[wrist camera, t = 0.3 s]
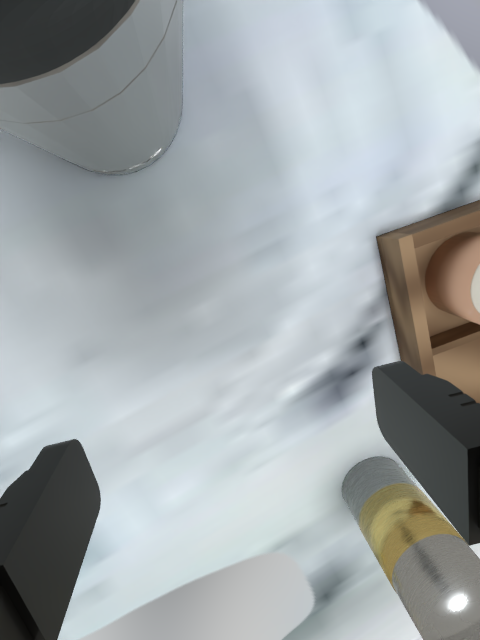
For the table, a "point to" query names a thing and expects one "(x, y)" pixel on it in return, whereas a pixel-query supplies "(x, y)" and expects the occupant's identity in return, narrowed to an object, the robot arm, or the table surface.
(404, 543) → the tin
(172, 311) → the table surface
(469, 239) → the ramekin
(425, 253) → the tray
